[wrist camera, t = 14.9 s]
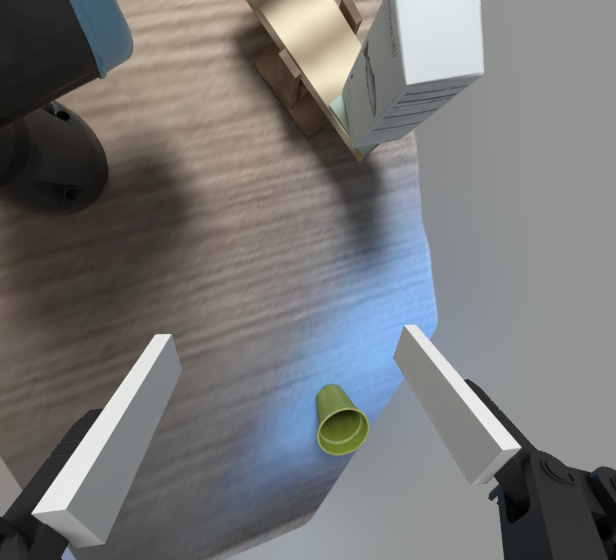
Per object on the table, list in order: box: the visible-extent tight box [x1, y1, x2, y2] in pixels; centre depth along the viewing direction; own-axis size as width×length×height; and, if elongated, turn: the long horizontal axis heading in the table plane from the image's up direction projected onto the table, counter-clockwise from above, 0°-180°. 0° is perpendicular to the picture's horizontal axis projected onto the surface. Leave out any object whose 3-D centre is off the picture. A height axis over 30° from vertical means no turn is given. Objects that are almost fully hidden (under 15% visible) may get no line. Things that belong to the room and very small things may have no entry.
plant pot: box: [316, 385, 369, 455], centre depth 42 cm, size 9×9×9 cm
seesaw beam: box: [246, 0, 380, 162], centre depth 26 cm, size 28×8×6 cm, turn 40°
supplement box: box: [342, 0, 484, 149], centre depth 23 cm, size 7×7×13 cm
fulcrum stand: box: [255, 0, 362, 139], centre depth 30 cm, size 12×11×8 cm
